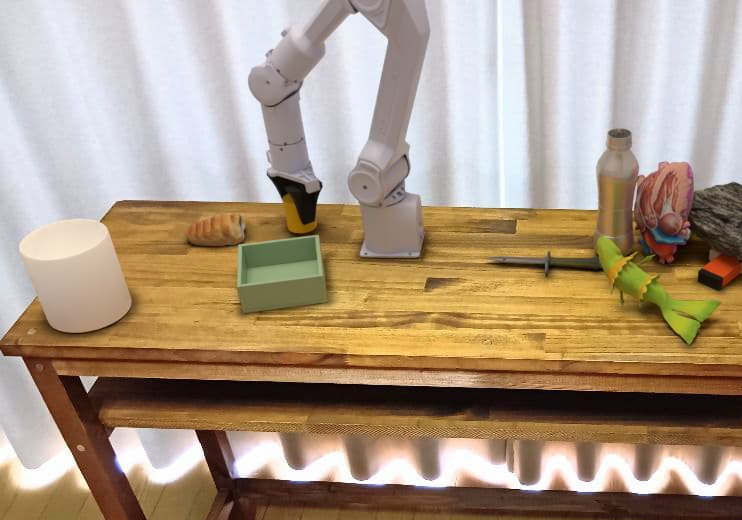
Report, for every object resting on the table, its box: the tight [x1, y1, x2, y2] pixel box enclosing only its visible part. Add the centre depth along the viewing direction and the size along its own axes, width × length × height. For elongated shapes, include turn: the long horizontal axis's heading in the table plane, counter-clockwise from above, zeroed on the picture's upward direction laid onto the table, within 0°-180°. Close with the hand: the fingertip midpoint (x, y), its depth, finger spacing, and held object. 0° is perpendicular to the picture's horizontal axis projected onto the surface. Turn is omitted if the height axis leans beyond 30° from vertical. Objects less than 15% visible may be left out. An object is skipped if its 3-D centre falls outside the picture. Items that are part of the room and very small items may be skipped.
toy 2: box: [697, 247, 742, 291], centre depth 137 cm, size 8×4×15 cm
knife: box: [483, 250, 603, 275], centre depth 139 cm, size 19×2×5 cm
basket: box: [236, 234, 329, 314], centre depth 136 cm, size 12×12×5 cm
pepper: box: [281, 193, 318, 234], centre depth 148 cm, size 5×5×7 cm
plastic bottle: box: [592, 127, 640, 258], centre depth 136 cm, size 6×7×20 cm
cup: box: [18, 218, 133, 334], centre depth 129 cm, size 12×12×12 cm
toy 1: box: [597, 236, 723, 346], centre depth 128 cm, size 8×20×8 cm, turn 49°
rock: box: [687, 181, 742, 260], centre depth 136 cm, size 12×16×6 cm
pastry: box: [184, 211, 246, 247], centre depth 147 cm, size 9×7×4 cm
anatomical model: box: [633, 160, 695, 265], centre depth 137 cm, size 11×6×15 cm
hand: (300, 216), depth 149 cm, fingers closed on pepper, 5 cm apart
